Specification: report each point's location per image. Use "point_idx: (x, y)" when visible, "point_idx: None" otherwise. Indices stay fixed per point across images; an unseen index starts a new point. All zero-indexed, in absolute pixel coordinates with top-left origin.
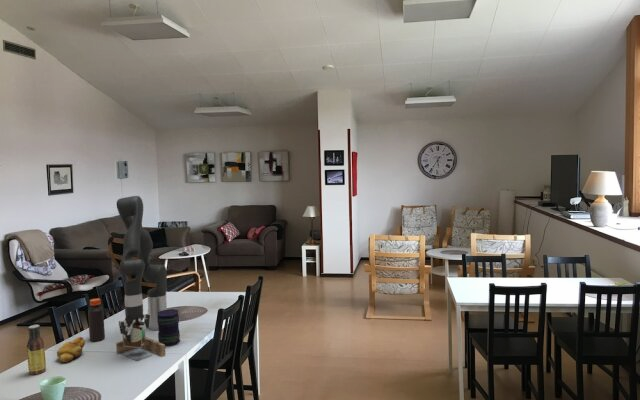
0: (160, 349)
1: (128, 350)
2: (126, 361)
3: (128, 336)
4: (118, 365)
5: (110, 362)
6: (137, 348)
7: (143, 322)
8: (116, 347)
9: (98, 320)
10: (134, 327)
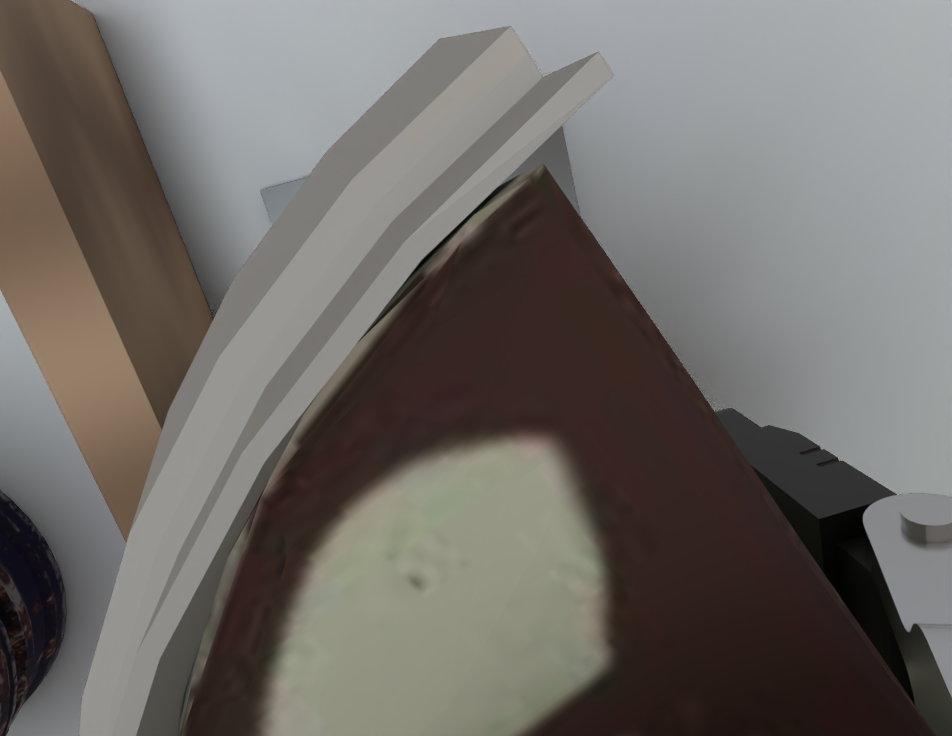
0: (49, 44)
1: None
2: (681, 220)
3: (835, 502)
4: (824, 135)
5: (859, 336)
6: None
7: None
8: None
9: None
10: (890, 673)
